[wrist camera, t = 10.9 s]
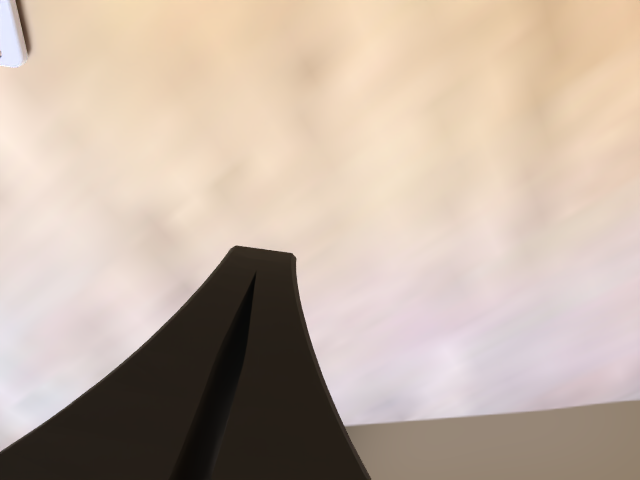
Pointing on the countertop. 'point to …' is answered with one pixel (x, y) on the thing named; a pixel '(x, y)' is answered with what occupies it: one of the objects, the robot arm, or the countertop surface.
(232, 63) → the countertop surface
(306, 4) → the countertop surface
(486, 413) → the countertop surface
